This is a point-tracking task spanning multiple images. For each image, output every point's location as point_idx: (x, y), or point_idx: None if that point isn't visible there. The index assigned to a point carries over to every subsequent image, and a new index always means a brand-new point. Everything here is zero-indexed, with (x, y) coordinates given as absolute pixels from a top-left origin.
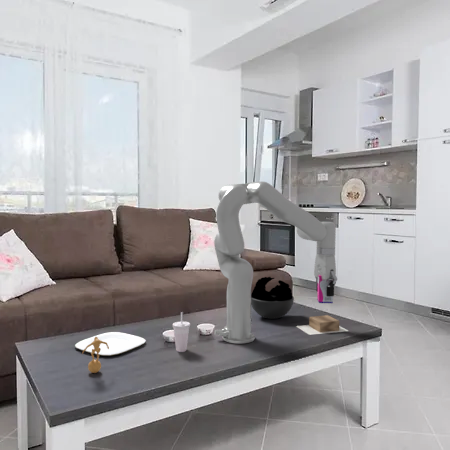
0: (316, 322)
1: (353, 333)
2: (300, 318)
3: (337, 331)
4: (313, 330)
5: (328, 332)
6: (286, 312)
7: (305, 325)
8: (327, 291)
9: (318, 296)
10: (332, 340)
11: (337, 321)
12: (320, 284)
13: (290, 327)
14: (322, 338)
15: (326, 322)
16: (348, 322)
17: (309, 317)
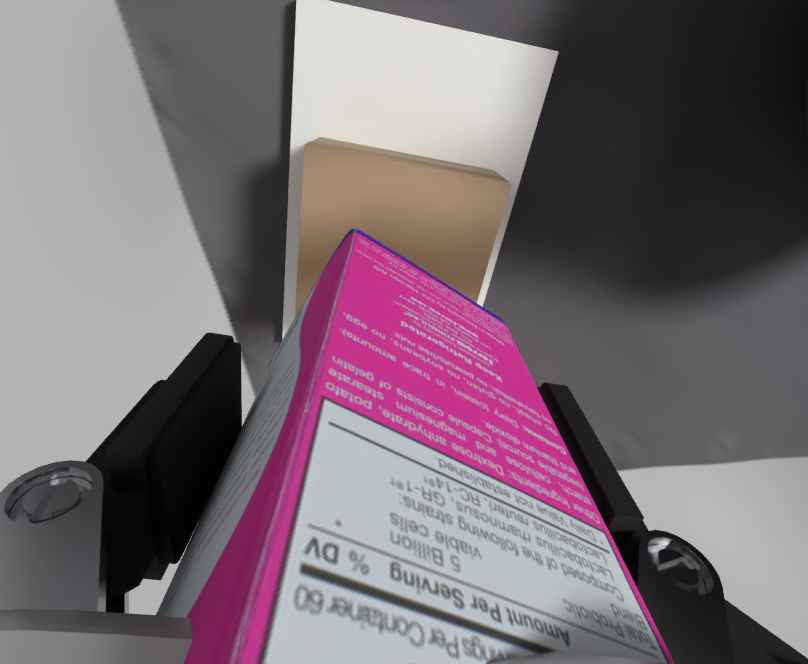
0: (372, 154)
1: (266, 352)
2: (701, 267)
3: (295, 274)
4: (384, 122)
5: (297, 200)
6: (805, 98)
7: (522, 152)
8: (171, 385)
9: (392, 278)
10: (167, 127)
11: (295, 312)
12: (280, 420)
13: (595, 14)
14: (230, 84)
15: (301, 213)
16: None
17: (506, 182)
